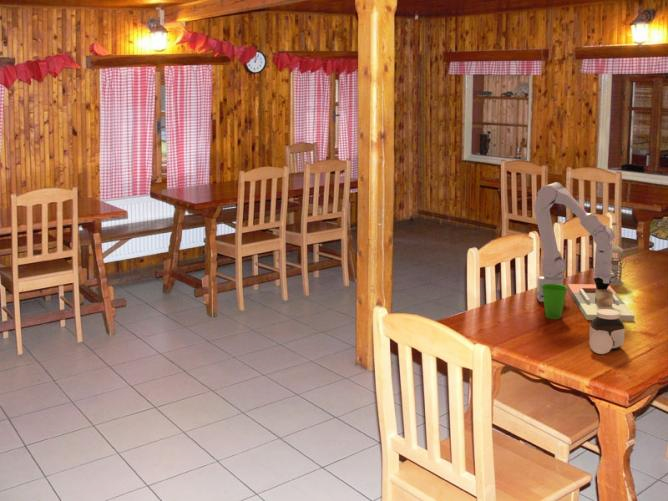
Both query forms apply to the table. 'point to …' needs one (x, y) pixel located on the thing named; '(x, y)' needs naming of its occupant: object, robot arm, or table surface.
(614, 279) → the french press
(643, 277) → the table surface
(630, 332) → the table surface
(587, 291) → the chute board
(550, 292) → the cup
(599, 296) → the maple block
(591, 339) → the spread jar
